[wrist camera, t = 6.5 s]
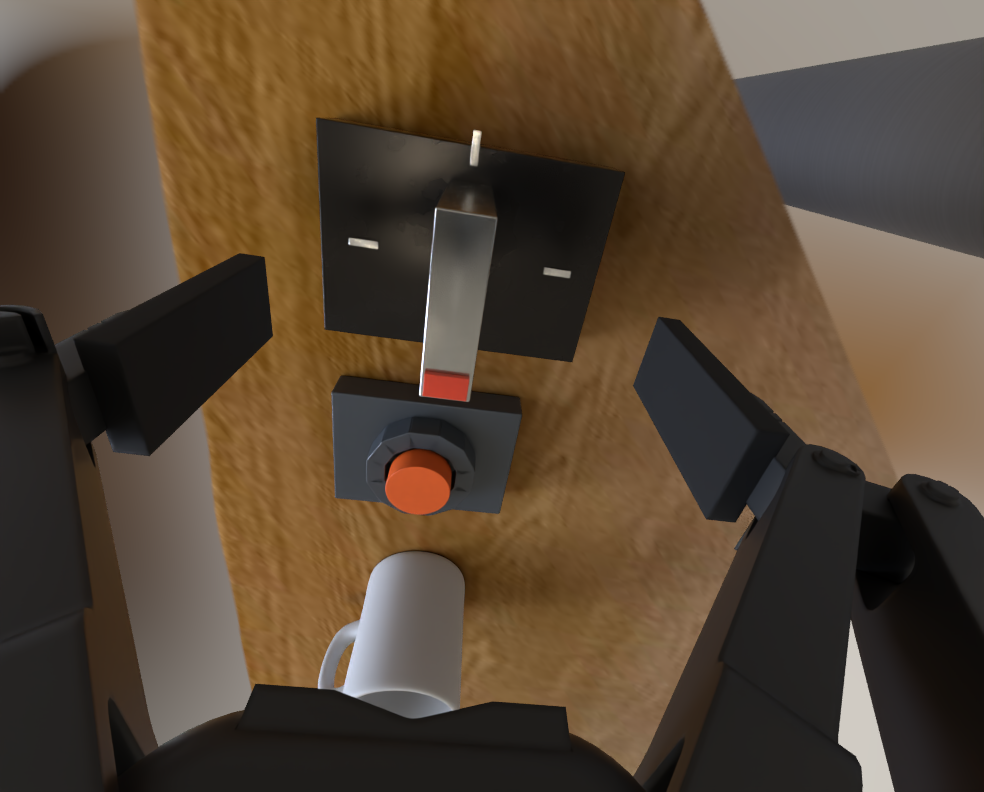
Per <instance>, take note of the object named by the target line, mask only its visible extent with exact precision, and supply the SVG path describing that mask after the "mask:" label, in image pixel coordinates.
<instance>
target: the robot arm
mask: <svg viewBox="0 0 984 792" xmlns="http://www.w3.org/2000/svg"><path fill="white" fill-rule="evenodd" d="M272 336H273V333H272V323H271V314H270V304H269V295H268V285H267V276H266V266H265V257H261V256H254V255H248V254H241V253H239V254H237V255H235V256H233V257H231V258H230V259H228V260H226V261H224V262H222V263H220V264H218V265H216V266H214V267H212V268H210V269H208V270H206V271H204V272H202V273H200V274H198V275H196V276H195V277H193V278H191V279H189V280H187V281H185V282H183V283H181V284H179V285H177V286H175V287H173V288H171V289H169V290H167V291H165V292H163V293H161V294H160V295H158V296H156V297H154V298H152V299H150V300H148V301H146V302H144V303H142V304H140V305H138V306H136V307H134V308H132V309H131V310H127V311H123V312H120V313H117V314H115V315H113V316H111V317H109V318H107V319H105V320H103V321H101V323H97V324H95V325H93V326H91V327H89V328H88V330H83V331H81V332H79V333H77V334H75V335H73V336H71V337H69V338H67V339H65V340H63V341H61V342H59V343H57V344H55V345H54V342H53V340H52V337H51V334H50V332H49V330H48V327H47V324H46V321H45V319H44V316H43V314H42V313H41V312H40V310H39V309H35V308H32V307H29V306H19V305H0V792H862V787H863V784H862V771H861V766H860V764H859V762H858V760H857V758H856V756H855V755H853V754H852V753H850V752H849V751H848V750H846V749H845V748H843V747H842V746H841V745H839V744H838V732H839V722H840V714H841V705H842V695H843V686H844V676H845V666H846V657H847V648H848V639H849V629H850V620H851V621H852V625H853V629H854V633H855V637H856V641H857V645H858V649H859V653H860V657H861V661H862V665H863V669H864V673H865V676H866V680H867V684H868V688H869V692H870V696H871V700H872V704H873V708H874V712H875V716H876V720H877V724H878V728H879V731H880V736H881V740H882V743H883V747H884V751H885V755H886V759H887V763H888V767H889V771H890V775H891V779H892V783H893V787H894V791H895V792H984V517H983V516H982V515H981V513H980V512H979V510H978V509H977V508H976V507H975V506H974V505H973V504H972V503H971V502H970V500H968V499H967V498H966V497H964V496H963V495H961V494H960V493H959V491H958V490H956V489H955V488H953V487H951V486H948V484H946V483H943V482H941V481H935V480H933V479H930V478H928V477H924V476H920V475H916V474H906V475H904V476H902V477H901V479H900V480H899V481H898V482H897V483H896V485H895V486H894V487H893V488H892V489H890V488H887V487H884V486H881V485H877V484H874V483H871V482H868V481H865V479H866V478H865V475H864V472H863V471H862V470H861V469H860V468H859V467H858V466H857V464H855V463H854V462H852V461H851V460H849V459H848V458H847V457H845V456H843V455H841V454H839V453H838V452H835V451H833V450H830V449H827V448H825V447H822V446H817V445H812V444H809V445H806V444H805V443H804V442H803V441H802V440H801V439H800V438H799V437H798V436H797V435H796V434H795V433H794V432H793V431H792V429H791V428H790V427H789V426H788V425H787V424H786V423H785V422H782V419H781V418H780V417H779V416H778V415H777V414H776V413H773V412H774V411H773V410H772V409H771V408H770V407H769V406H768V405H767V404H766V403H765V402H764V401H763V400H761V399H760V398H758V397H757V396H755V395H753V394H752V393H750V392H749V391H748V390H747V389H746V388H745V387H744V386H743V385H742V384H741V383H740V382H739V381H738V380H737V379H736V378H735V376H734V375H733V374H732V373H731V372H730V371H729V370H728V369H727V368H726V367H725V366H724V365H723V364H722V363H721V362H720V361H719V360H718V359H717V358H716V357H715V356H714V355H713V354H712V353H711V352H710V351H709V350H708V349H707V348H706V347H705V345H704V344H703V343H702V342H701V341H700V340H699V339H698V338H697V337H696V336H695V335H694V334H693V333H692V332H691V331H690V330H689V329H688V328H687V327H686V326H685V325H684V324H683V323H682V322H681V321H680V320H677V319H670V318H663V317H658V320H657V322H656V325H655V328H654V330H653V333H652V336H651V339H650V341H649V344H648V347H647V349H646V352H645V355H644V358H643V360H642V363H641V366H640V368H639V371H638V374H637V376H636V379H635V382H634V385H633V386H634V388H635V390H636V392H637V394H638V395H639V397H640V399H641V401H642V403H643V405H644V406H645V408H646V410H647V412H648V414H649V416H650V417H651V419H652V421H653V423H654V425H655V427H656V428H657V430H658V432H659V434H660V436H661V437H662V439H663V441H664V443H665V445H666V447H667V448H668V450H669V452H670V454H671V456H672V458H673V459H674V461H675V463H676V465H677V467H678V469H679V470H680V472H681V474H682V476H683V478H684V480H685V481H686V483H687V485H688V487H689V489H690V491H691V492H692V494H693V496H694V498H695V500H696V502H697V503H698V505H699V507H700V509H701V511H702V513H703V514H704V516H705V518H706V519H709V520H717V521H726V522H736V521H737V519H738V517H739V516H740V514H741V513H742V511H743V509H744V508H745V506H746V504H747V505H748V506H749V508H750V509H751V511H752V512H753V514H754V515H755V517H754V519H753V520H752V522H751V523H750V525H749V526H748V528H747V529H746V531H745V533H744V534H743V536H742V537H741V539H740V540H739V542H738V543H737V545H736V547H735V548H734V549H735V550H737V553H736V555H735V557H734V559H733V562H732V564H731V566H730V568H729V570H728V573H727V575H726V577H725V579H724V582H723V584H722V586H721V588H720V591H719V593H718V595H717V597H716V599H715V602H714V604H713V606H712V608H711V611H710V613H709V615H708V617H707V620H706V622H705V624H704V626H703V628H702V631H701V633H700V635H699V637H698V640H697V642H696V644H695V646H694V649H693V651H692V653H691V655H690V657H689V660H688V662H687V664H686V666H685V669H684V671H683V673H682V675H681V677H680V680H679V682H678V684H677V686H676V689H675V691H674V693H673V695H672V698H671V700H670V702H669V704H668V706H667V709H666V711H665V713H664V715H663V718H662V720H661V722H660V724H659V727H658V729H657V731H656V733H655V735H654V738H653V740H652V742H651V744H650V747H649V749H648V751H647V753H646V755H645V757H644V759H643V760H642V762H641V764H640V766H639V767H638V769H637V771H636V773H635V774H634V776H632V775H631V774H630V773H629V772H628V771H627V770H625V769H624V768H623V767H622V766H621V765H620V764H619V763H618V762H616V761H615V760H614V759H613V758H612V757H610V756H609V755H608V754H606V753H605V752H603V751H602V750H600V749H599V748H598V747H596V746H595V745H593V744H591V743H589V742H587V741H586V740H584V739H582V738H580V737H578V736H576V735H573V734H571V733H569V730H568V722H567V714H566V707H559V706H546V705H532V704H519V703H506V702H489V703H484V704H480V705H475V706H471V707H466V708H462V709H457V710H453V711H449V712H444V713H440V714H435V715H431V716H426V717H422V718H407V717H403V716H401V715H398V714H396V713H393V712H391V711H388V710H385V709H383V708H380V707H378V706H375V705H373V704H370V703H367V702H365V701H362V700H360V699H357V698H355V697H352V696H350V695H347V694H344V693H342V692H339V691H337V690H332V689H318V688H305V687H292V686H278V685H265V684H255V686H254V688H253V691H252V693H251V696H250V698H249V700H248V703H247V705H246V707H245V710H243V711H237V712H233V713H230V714H227V715H224V716H221V717H218V718H215V719H212V720H209V721H207V722H205V723H203V724H201V725H198V726H196V727H194V728H192V729H189V730H187V731H186V732H184V733H182V734H180V735H178V736H177V737H175V738H173V739H171V740H170V741H168V742H166V743H164V744H163V745H161V746H160V747H158V744H157V741H156V739H155V735H154V733H153V729H152V725H151V722H150V718H149V714H148V709H147V704H146V699H145V695H144V689H143V684H142V679H141V674H140V669H139V664H138V659H137V654H136V649H135V644H134V639H133V634H132V629H131V624H130V619H129V614H128V609H127V604H126V599H125V594H124V589H123V585H122V579H121V574H120V569H119V564H118V559H117V554H116V550H115V544H114V539H113V534H112V529H111V524H110V519H109V514H108V509H107V504H106V499H105V494H104V489H103V484H102V479H101V474H100V470H99V464H98V459H97V454H96V452H95V449H94V447H93V444H92V440H94V439H95V438H96V437H97V436H99V435H100V434H101V433H102V432H104V431H105V430H106V433H107V436H108V438H109V441H110V444H111V447H112V450H113V452H118V453H127V454H136V455H144V456H150V455H151V454H152V453H153V452H154V451H155V450H156V449H157V448H158V447H159V446H160V445H161V444H162V443H163V442H165V440H166V439H168V437H170V436H171V435H172V434H173V433H174V432H175V431H176V430H177V429H178V428H179V427H180V426H181V425H182V424H183V423H184V422H185V421H186V420H187V419H188V418H189V417H190V416H191V415H192V414H193V413H194V412H195V411H196V410H197V409H198V408H199V407H200V406H201V405H203V404H204V403H205V402H206V401H207V400H208V399H209V398H210V397H211V396H212V395H213V394H214V393H215V392H216V391H217V390H218V389H219V388H220V387H221V386H222V385H223V384H224V383H225V382H226V381H227V380H228V379H229V378H230V377H231V376H232V375H233V374H234V373H235V372H236V371H237V370H238V369H240V368H241V367H242V366H243V365H244V364H245V363H246V362H247V361H248V360H249V359H250V358H251V357H252V356H253V355H254V354H255V353H256V352H257V351H258V350H259V349H260V348H261V347H262V346H263V345H264V344H265V343H266V342H267V341H268V340H269V339H270V338H271V337H272Z"/></svg>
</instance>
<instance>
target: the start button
mask: <svg viewBox="0 0 984 792" xmlns="http://www.w3.org/2000/svg"><path fill="white" fill-rule="evenodd" d="M451 477H452V472H451V468H450V466H449V464H448V462H447V461H446V460H445V459H444V458H443V457H442V456H440V455H439V454H437V453H435V452H433V451H429V450H425V449H413V450H408V451H406V452H403V453H401V454H400V455H398V456H397V457H396V458H395V459H394V460H393V462H392V464H391V467H390V470H389V474H388V478H387V482H386V486H385V491H386V495H387V498H388V499H389V501H390V502H391V503H392V504H393V505H394V506H395V507H397V508H398V509H400V510H402V511H404V512H407V513H411V514H429V513H432V512H435V511H437V510H439V509H440V508H442V507H443V506H444V505H445V504H446V503H447V501H448V499H449V497H450V489H451Z"/></svg>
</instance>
